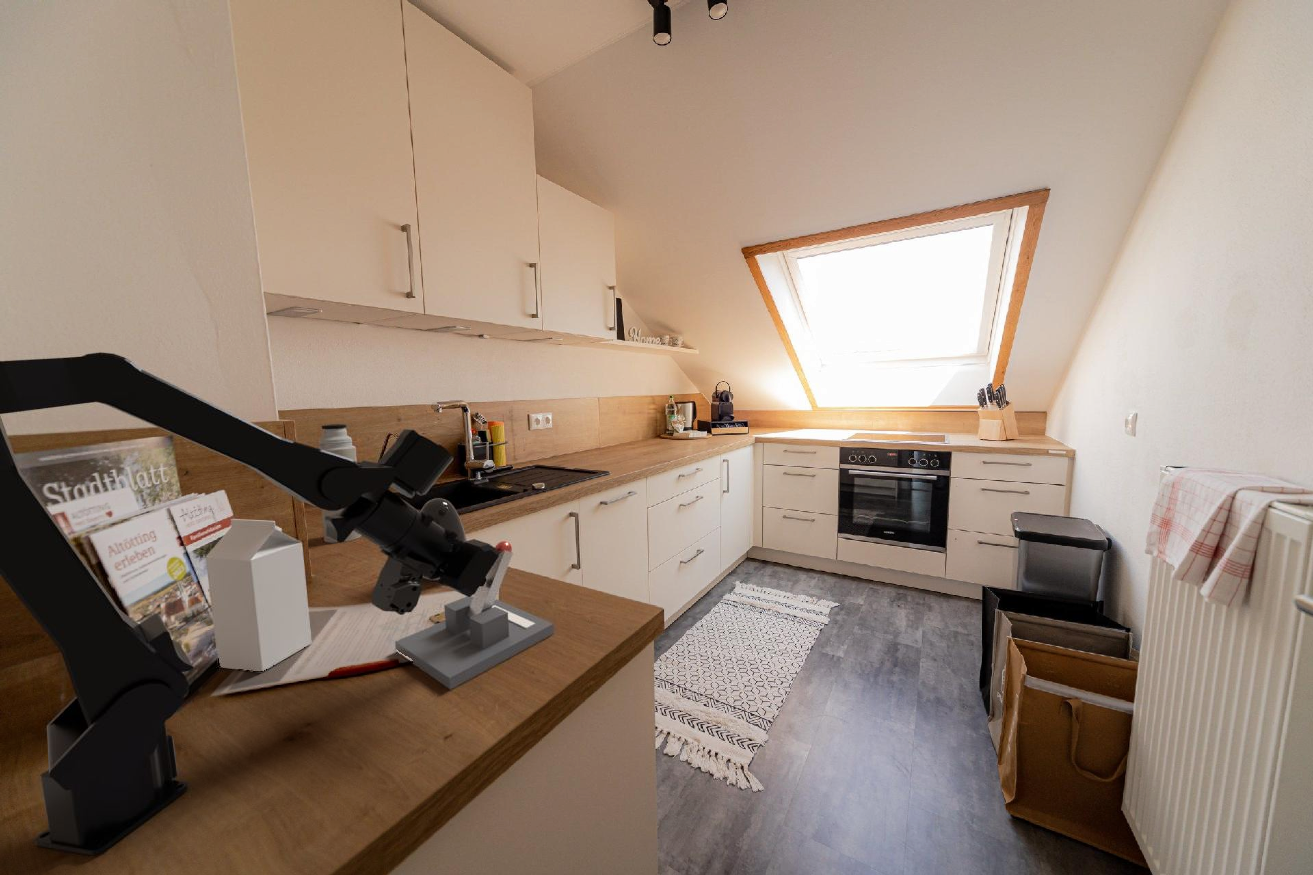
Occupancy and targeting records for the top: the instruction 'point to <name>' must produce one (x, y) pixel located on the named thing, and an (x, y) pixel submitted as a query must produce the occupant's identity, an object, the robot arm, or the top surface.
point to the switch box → (472, 640)
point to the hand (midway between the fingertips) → (483, 583)
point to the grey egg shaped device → (445, 518)
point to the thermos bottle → (340, 445)
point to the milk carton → (257, 595)
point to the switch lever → (491, 581)
